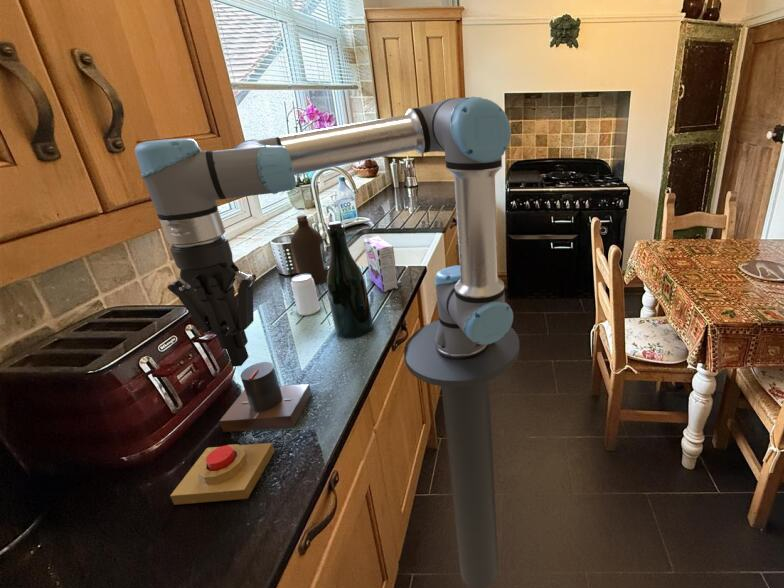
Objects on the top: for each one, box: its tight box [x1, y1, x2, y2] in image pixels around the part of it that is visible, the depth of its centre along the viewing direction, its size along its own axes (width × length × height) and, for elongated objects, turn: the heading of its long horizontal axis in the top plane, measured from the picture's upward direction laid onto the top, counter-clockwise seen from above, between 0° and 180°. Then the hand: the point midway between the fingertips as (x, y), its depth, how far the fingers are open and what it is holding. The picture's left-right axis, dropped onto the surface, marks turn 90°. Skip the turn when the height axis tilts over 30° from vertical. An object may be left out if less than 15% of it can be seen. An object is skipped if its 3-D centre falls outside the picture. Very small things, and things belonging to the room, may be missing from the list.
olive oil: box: [290, 214, 329, 285], centre depth 148 cm, size 11×11×25 cm
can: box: [290, 273, 321, 317], centre depth 128 cm, size 6×6×12 cm
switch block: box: [169, 442, 275, 506], centre depth 72 cm, size 12×10×4 cm
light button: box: [206, 444, 236, 471], centre depth 71 cm, size 4×4×2 cm
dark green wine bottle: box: [326, 220, 374, 339], centre depth 113 cm, size 10×10×33 cm
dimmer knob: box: [240, 361, 282, 411], centre depth 85 cm, size 6×6×8 cm
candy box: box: [363, 235, 399, 293], centre depth 145 cm, size 14×6×16 cm, turn 37°
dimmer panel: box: [218, 383, 313, 433], centre depth 87 cm, size 14×10×3 cm
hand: (240, 361), depth 73 cm, fingers closed
